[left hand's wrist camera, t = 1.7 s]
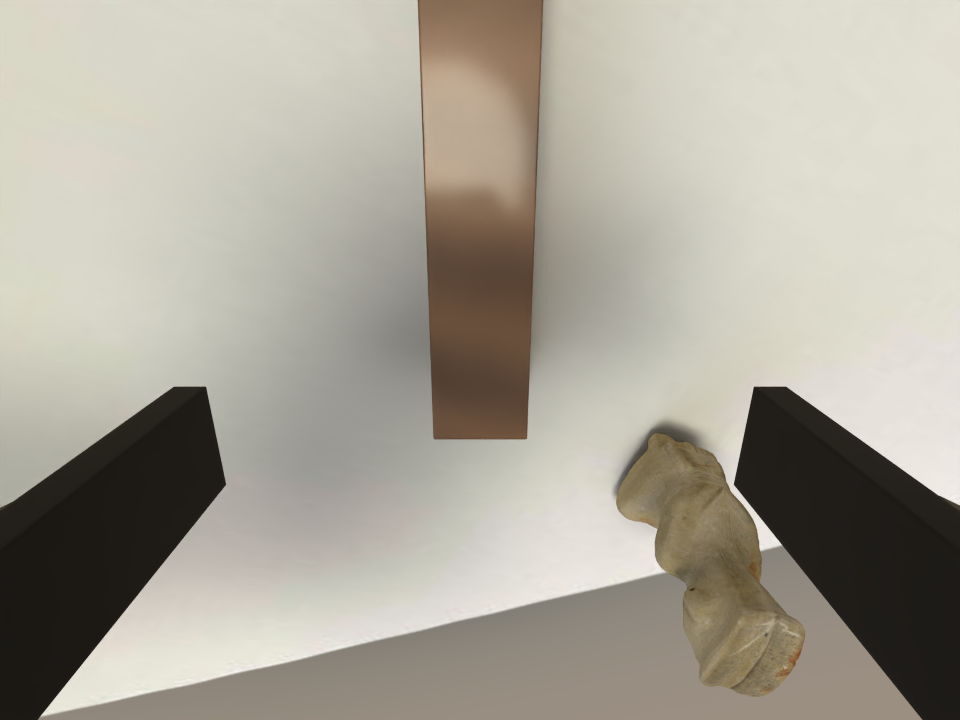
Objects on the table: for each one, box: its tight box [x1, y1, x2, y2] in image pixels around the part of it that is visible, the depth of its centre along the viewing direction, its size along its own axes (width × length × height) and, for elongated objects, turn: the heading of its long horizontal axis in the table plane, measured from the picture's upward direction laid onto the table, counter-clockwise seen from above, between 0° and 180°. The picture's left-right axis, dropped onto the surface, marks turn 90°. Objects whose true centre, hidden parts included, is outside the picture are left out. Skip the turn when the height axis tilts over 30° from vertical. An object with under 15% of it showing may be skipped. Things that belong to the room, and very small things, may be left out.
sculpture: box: [616, 433, 805, 697], centre depth 30 cm, size 6×7×15 cm
